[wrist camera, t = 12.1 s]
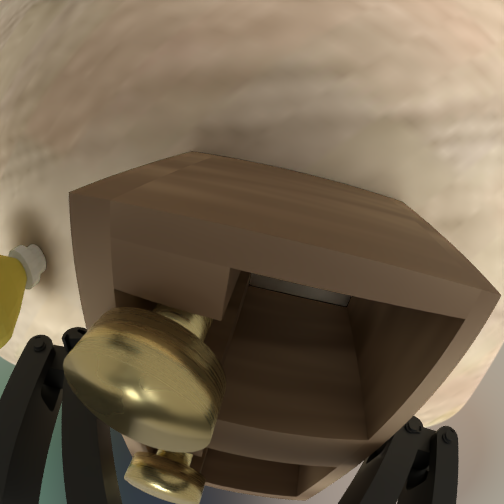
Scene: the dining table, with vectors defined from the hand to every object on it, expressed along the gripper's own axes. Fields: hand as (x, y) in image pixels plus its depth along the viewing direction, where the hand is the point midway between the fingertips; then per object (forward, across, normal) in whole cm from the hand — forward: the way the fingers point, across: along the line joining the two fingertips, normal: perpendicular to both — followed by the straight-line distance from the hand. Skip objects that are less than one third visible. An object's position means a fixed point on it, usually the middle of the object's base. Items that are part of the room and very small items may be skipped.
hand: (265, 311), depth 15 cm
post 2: (0, -2, -4) cm, 5 cm away
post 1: (0, -2, +4) cm, 5 cm away
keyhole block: (0, 0, 0) cm, 0 cm away
